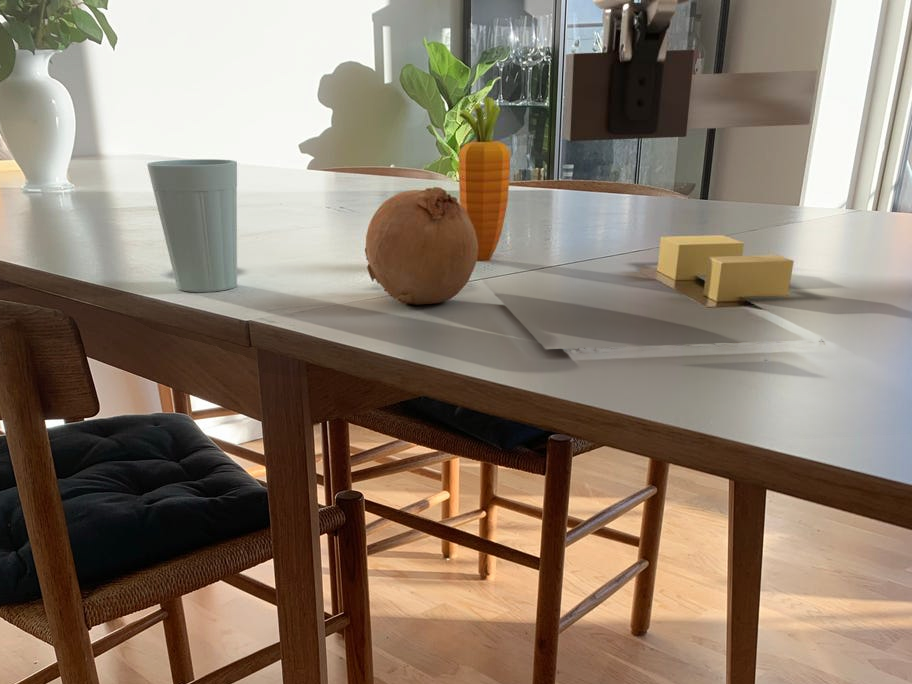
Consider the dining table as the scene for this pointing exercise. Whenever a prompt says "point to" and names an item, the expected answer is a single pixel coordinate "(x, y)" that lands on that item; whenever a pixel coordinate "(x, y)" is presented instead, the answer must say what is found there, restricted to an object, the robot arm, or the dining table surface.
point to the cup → (198, 220)
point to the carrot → (484, 179)
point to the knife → (685, 98)
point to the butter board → (691, 290)
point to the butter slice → (747, 277)
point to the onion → (421, 246)
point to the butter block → (693, 254)
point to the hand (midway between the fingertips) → (626, 130)
